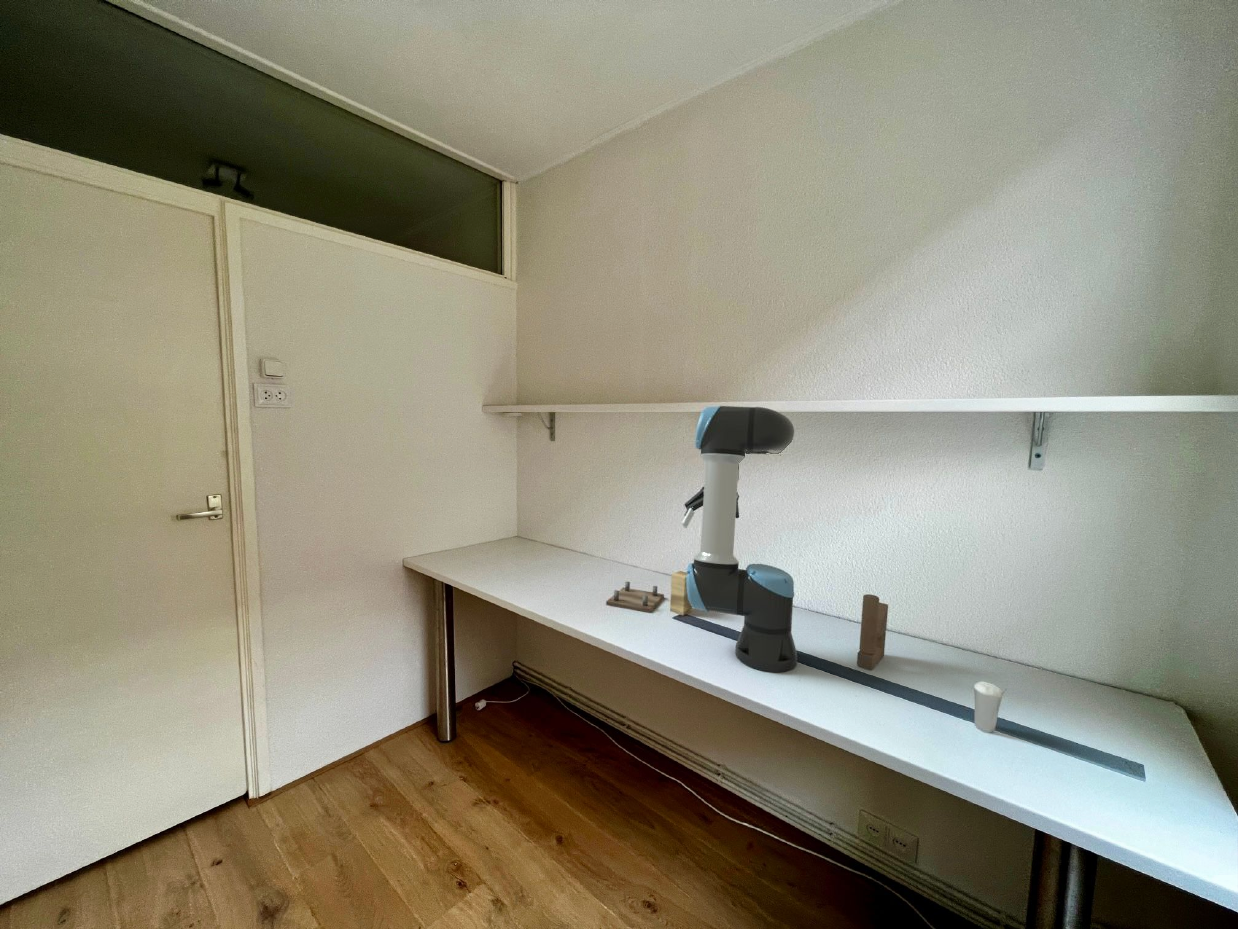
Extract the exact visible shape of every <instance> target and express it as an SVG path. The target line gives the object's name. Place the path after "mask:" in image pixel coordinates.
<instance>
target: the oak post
mask: <svg viewBox="0 0 1238 929" xmlns="http://www.w3.org/2000/svg"><path fill="white" fill-rule="evenodd" d="M670 578H671V579H670V581H671V582H670V606H669V607H670V609H669V611H670V612H673V613H675V614H678V615H681V616H685V615H687V614H689V613H691V612H693V607H692V606H691V604H690V602H689V599H688V594H687V571H686V572H685V571H683V570H680V571H677V572H673V573H671V577H670Z"/></svg>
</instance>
